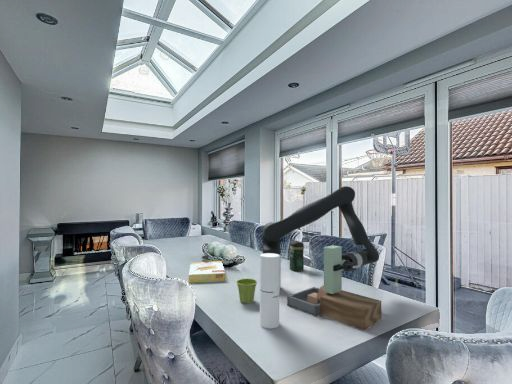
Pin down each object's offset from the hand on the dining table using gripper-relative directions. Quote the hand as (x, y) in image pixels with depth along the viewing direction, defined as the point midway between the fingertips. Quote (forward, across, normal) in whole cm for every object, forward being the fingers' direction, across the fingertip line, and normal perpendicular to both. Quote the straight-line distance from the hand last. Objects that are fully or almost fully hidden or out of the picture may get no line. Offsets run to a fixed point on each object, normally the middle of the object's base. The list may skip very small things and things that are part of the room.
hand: (329, 267), depth 113 cm
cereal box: (+6, -79, +19) cm, 81 cm away
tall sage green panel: (-3, 0, +10) cm, 10 cm away
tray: (-3, -9, +18) cm, 20 cm away
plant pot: (+16, -32, +18) cm, 40 cm away
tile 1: (-3, -8, +14) cm, 16 cm away
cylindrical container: (+25, -9, +18) cm, 32 cm away
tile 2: (-3, -2, +13) cm, 13 cm away
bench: (-3, +8, +18) cm, 20 cm away
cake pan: (-17, -101, +18) cm, 104 cm away
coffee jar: (-44, -52, +18) cm, 70 cm away
